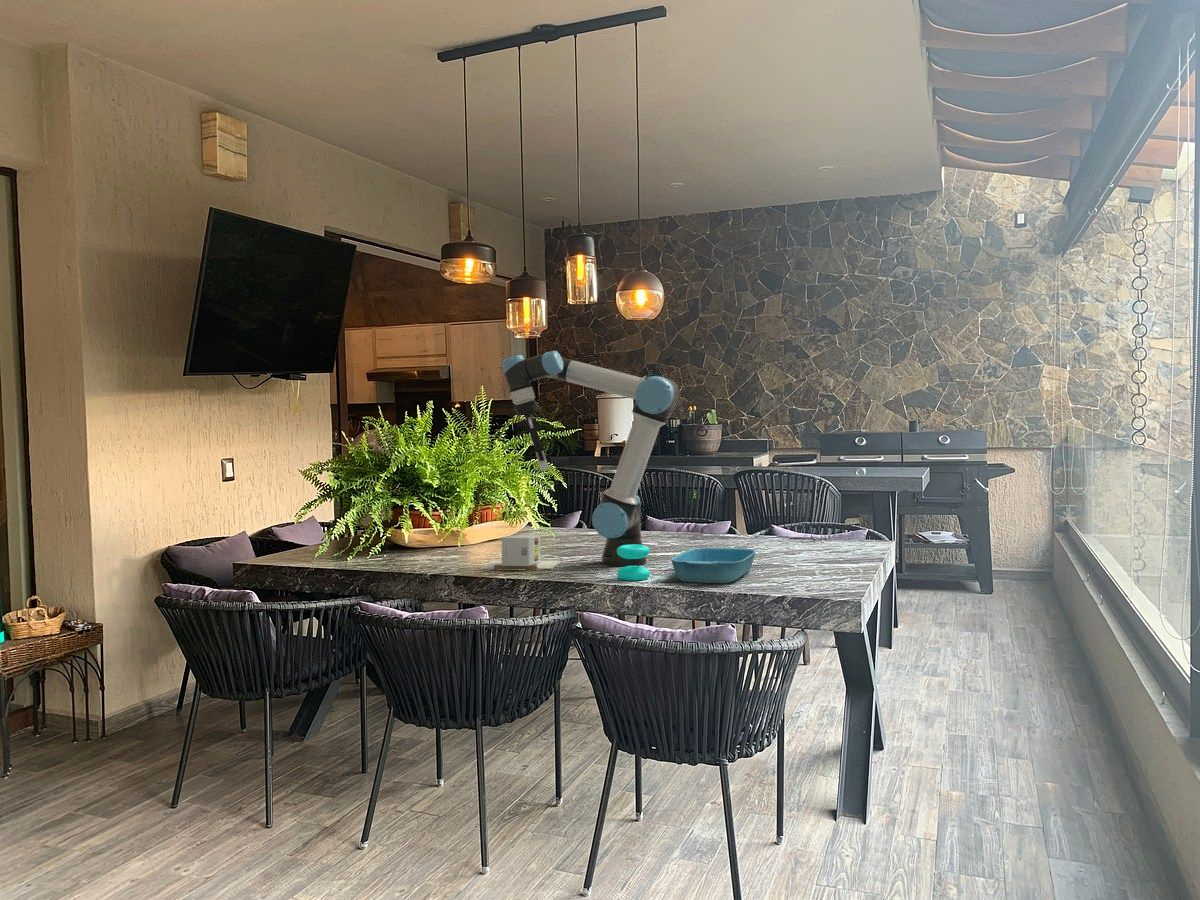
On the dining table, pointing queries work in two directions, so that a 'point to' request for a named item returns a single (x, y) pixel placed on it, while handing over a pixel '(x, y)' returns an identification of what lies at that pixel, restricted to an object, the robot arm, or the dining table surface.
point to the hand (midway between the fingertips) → (545, 470)
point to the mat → (532, 567)
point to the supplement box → (520, 550)
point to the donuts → (633, 571)
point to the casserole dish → (713, 564)
